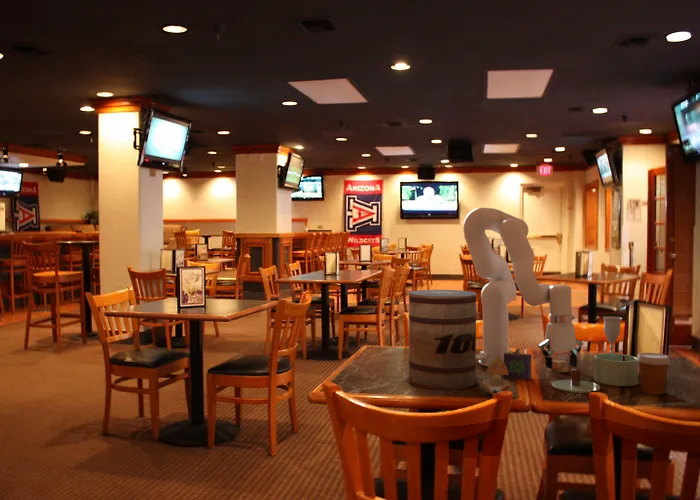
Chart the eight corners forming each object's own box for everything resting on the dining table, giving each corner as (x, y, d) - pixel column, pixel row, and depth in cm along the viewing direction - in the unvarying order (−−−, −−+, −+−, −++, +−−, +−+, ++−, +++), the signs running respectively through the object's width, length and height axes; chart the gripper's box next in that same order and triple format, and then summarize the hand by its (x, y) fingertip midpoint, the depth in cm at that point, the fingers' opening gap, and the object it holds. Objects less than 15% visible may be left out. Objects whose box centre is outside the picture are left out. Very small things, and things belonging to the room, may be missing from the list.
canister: (611, 388, 206) (611, 362, 205) (586, 379, 219) (586, 354, 219) (647, 386, 209) (647, 360, 209) (620, 376, 222) (620, 352, 222)
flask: (531, 379, 218) (531, 348, 218) (531, 381, 216) (531, 349, 215) (503, 377, 221) (503, 347, 221) (503, 379, 218) (503, 348, 218)
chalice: (623, 367, 237) (623, 319, 236) (603, 366, 238) (604, 318, 238) (619, 363, 244) (619, 316, 243) (600, 362, 245) (600, 316, 245)
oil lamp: (511, 386, 208) (511, 356, 208) (510, 404, 187) (510, 370, 187) (484, 385, 210) (484, 355, 210) (480, 402, 190) (480, 369, 189)
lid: (568, 396, 197) (568, 376, 197) (543, 384, 211) (543, 366, 211) (610, 393, 200) (610, 373, 200) (582, 382, 215) (582, 363, 214)
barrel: (471, 391, 202) (472, 297, 201) (402, 386, 209) (402, 295, 208) (479, 376, 223) (479, 290, 222) (416, 371, 230) (416, 288, 229)
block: (557, 373, 227) (557, 362, 226) (551, 371, 230) (551, 360, 230) (567, 373, 228) (567, 362, 227) (561, 370, 231) (561, 359, 231)
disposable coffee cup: (630, 389, 204) (630, 352, 204) (658, 389, 205) (659, 352, 205) (646, 397, 195) (646, 358, 194) (676, 397, 196) (676, 358, 195)
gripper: (575, 317, 234) (576, 363, 234) (533, 319, 230) (534, 366, 230) (588, 319, 227) (588, 367, 227) (544, 322, 222) (545, 370, 223)
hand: (561, 367), depth 229 cm, fingers open, 9 cm apart
